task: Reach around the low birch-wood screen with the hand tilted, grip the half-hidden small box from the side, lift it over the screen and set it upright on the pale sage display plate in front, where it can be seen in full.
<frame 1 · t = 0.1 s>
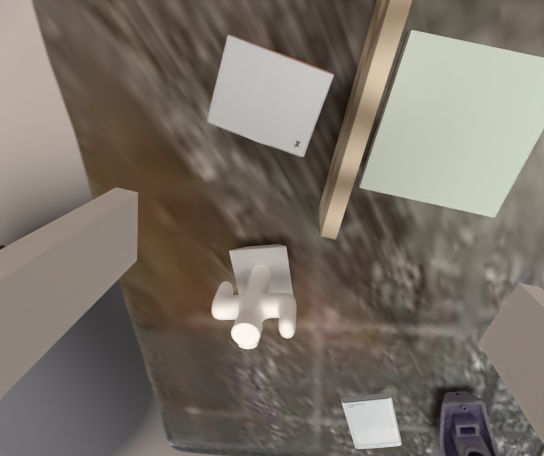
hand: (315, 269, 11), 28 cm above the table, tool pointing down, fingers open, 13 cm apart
display plate: (452, 131, 34), on the table
wooden screen: (353, 110, 34), on the table
hard drive: (370, 415, 55), on the table
figurine: (265, 258, 44), on the table
small box: (282, 94, 35), on the table
toy boat: (454, 412, 52), on the table
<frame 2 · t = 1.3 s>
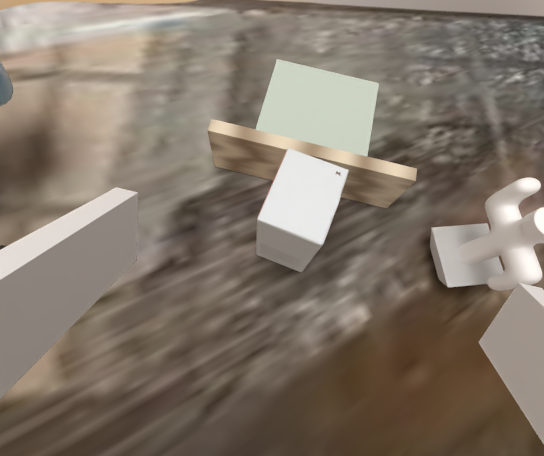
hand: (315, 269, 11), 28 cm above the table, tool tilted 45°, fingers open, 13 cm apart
display plate: (316, 118, 47), on the table
wooden screen: (301, 182, 43), on the table
figurine: (448, 261, 41), on the table
small box: (288, 236, 41), on the table
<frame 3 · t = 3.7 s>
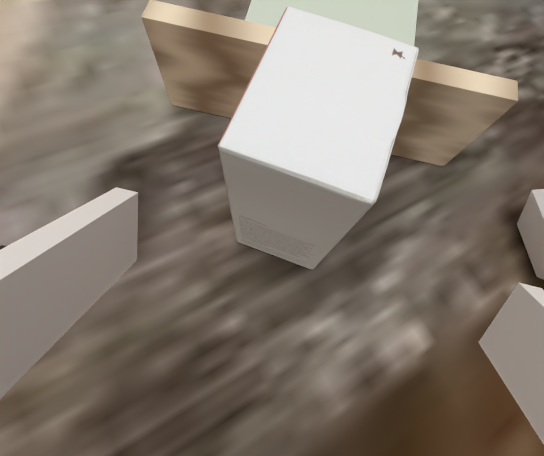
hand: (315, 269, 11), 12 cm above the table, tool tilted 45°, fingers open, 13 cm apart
display plate: (328, 36, 31), on the table
wooden screen: (308, 127, 27), on the table
small box: (290, 211, 25), on the table
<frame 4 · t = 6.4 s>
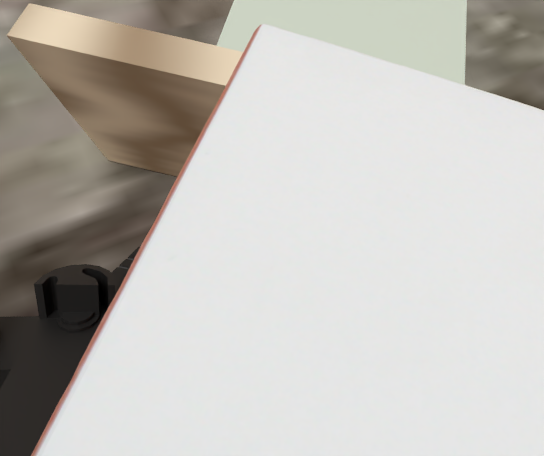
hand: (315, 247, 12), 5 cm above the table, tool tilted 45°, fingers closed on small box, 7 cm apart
display plate: (341, 56, 22), on the table
wooden screen: (312, 195, 18), on the table
small box: (283, 337, 16), on the table, touching gripper
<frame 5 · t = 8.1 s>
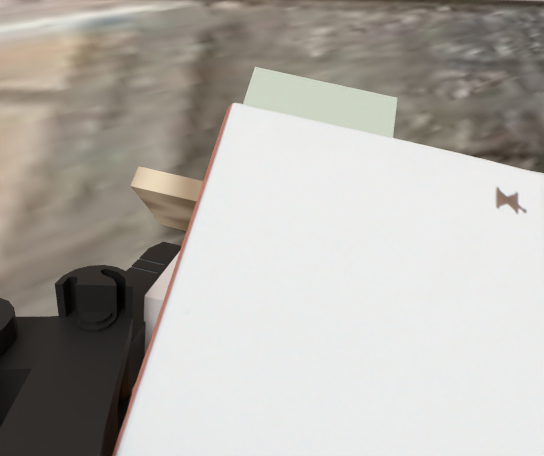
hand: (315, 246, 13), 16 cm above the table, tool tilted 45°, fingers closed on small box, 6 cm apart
display plate: (310, 148, 33), on the table
wooden screen: (289, 246, 29), on the table
small box: (282, 334, 17), point 10 cm above the table, touching gripper
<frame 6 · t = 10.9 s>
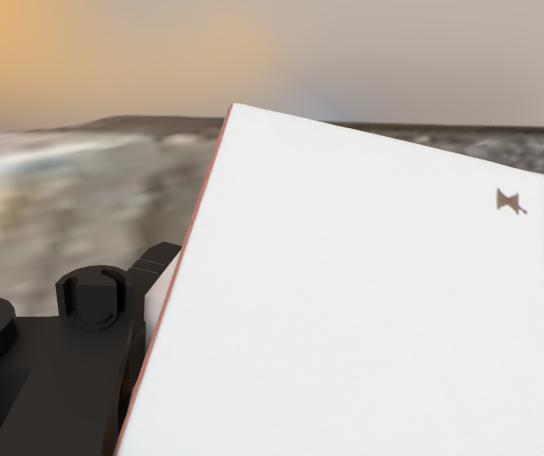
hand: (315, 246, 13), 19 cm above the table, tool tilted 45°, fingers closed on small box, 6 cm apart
small box: (281, 334, 17), point 13 cm above the table, touching gripper
when the fingers open (7 cm above the table, at t = 13.6 s): small box stays where it is, resting on display plate.
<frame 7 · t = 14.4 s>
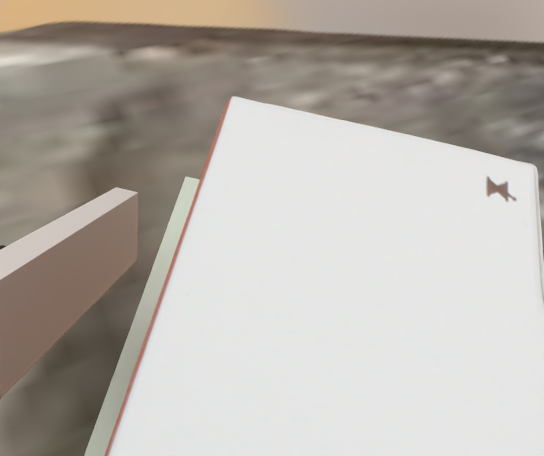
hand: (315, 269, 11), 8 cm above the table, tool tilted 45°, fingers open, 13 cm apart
display plate: (280, 337, 18), on the table
small box: (281, 335, 17), point 1 cm above the table, touching display plate
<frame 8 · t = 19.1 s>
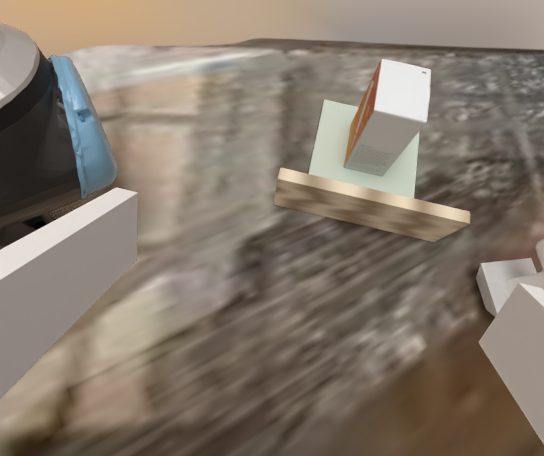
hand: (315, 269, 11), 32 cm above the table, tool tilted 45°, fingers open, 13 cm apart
display plate: (363, 155, 50), on the table
wooden screen: (354, 218, 46), on the table
figurine: (494, 292, 44), on the table
small box: (365, 151, 49), point 1 cm above the table, touching display plate
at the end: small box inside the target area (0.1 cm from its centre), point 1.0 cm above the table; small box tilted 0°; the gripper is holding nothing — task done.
